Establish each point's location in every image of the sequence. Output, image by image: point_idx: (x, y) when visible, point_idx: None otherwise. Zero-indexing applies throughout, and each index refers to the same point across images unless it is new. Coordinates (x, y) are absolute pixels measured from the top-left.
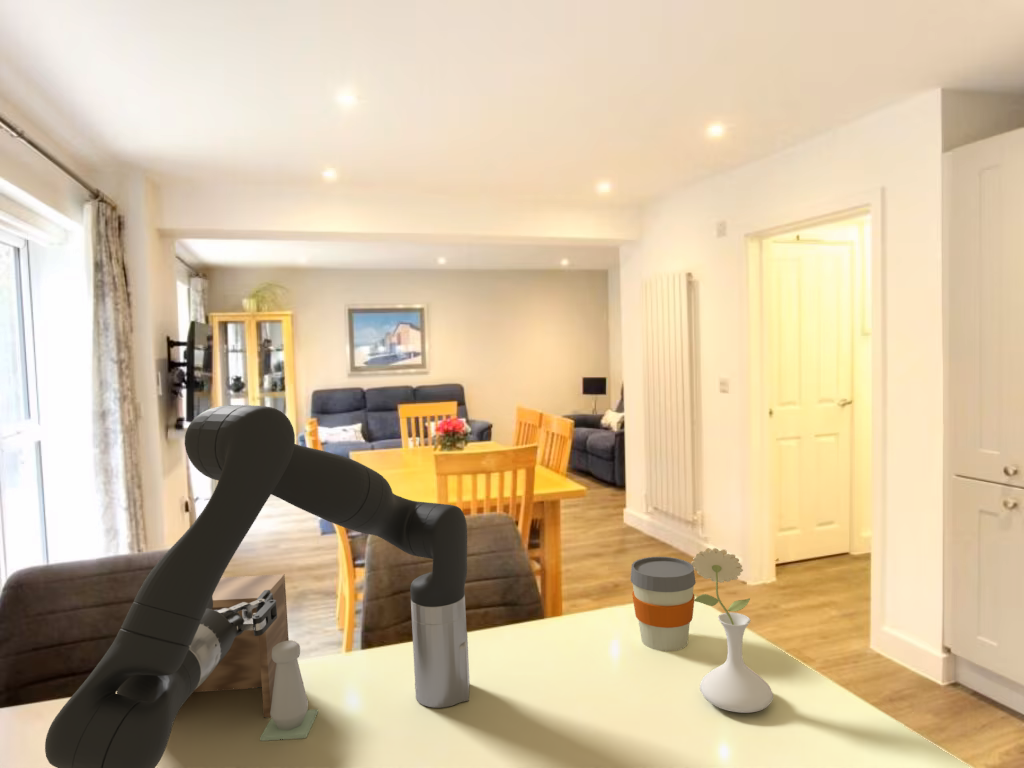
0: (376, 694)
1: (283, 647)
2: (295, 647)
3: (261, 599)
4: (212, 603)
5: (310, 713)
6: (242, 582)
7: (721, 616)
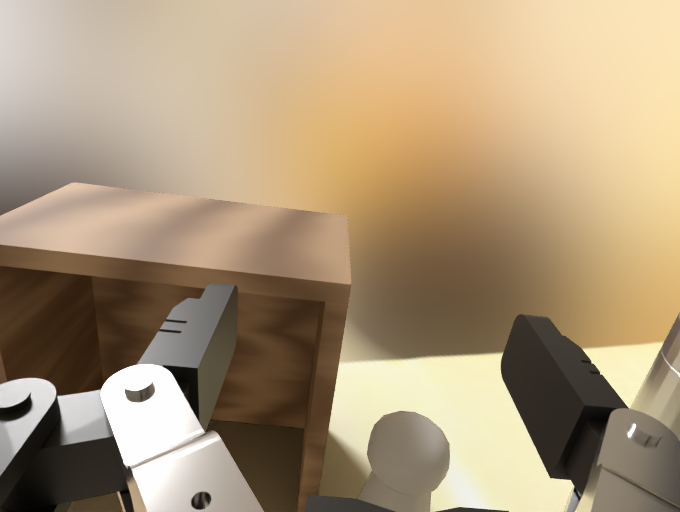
0: (510, 490)
1: (417, 450)
2: (446, 450)
3: (659, 428)
4: (236, 330)
5: None
6: (255, 220)
7: None
